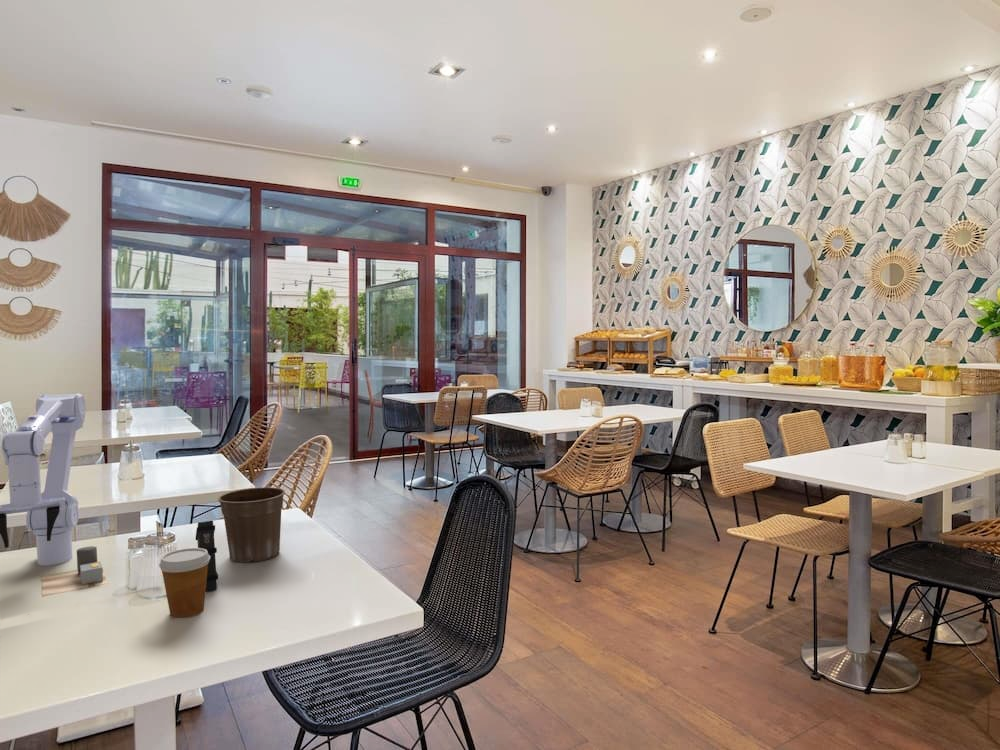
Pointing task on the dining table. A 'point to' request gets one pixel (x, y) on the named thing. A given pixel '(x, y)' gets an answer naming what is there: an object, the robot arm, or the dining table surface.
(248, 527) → the plant pot
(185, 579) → the disposable coffee cup
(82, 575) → the block
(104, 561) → the dining table surface
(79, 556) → the dark grey piece
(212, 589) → the black stepped upright piece
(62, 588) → the plank
